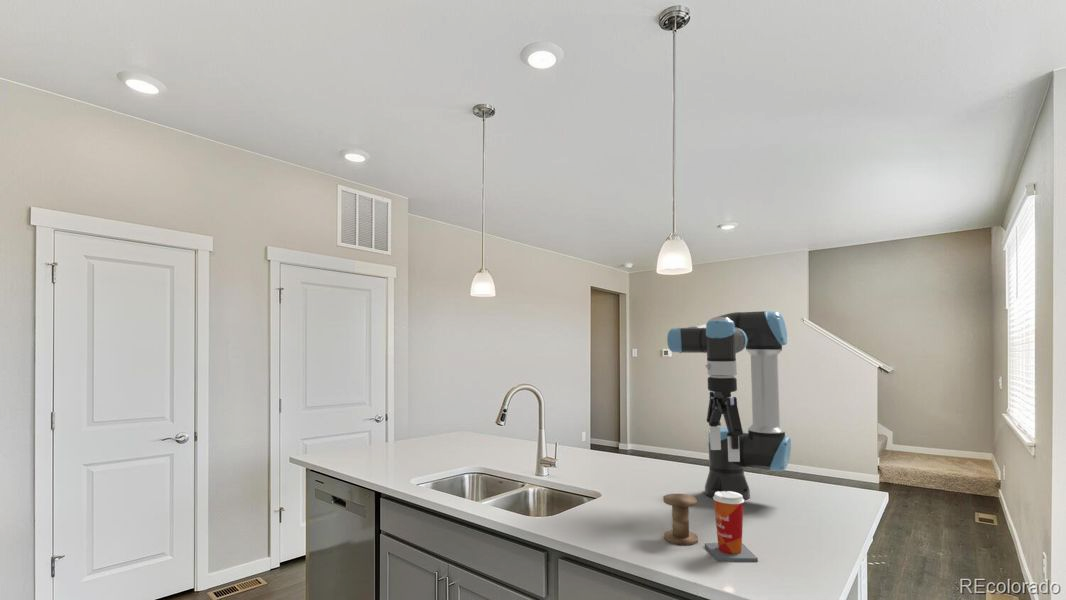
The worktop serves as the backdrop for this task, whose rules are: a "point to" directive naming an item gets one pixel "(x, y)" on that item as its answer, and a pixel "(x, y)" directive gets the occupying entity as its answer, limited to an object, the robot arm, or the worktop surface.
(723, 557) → the grey square tile
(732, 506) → the paper cup
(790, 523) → the worktop surface
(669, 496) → the bobbin
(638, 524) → the worktop surface
